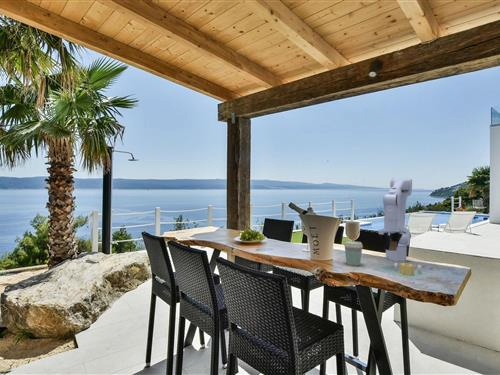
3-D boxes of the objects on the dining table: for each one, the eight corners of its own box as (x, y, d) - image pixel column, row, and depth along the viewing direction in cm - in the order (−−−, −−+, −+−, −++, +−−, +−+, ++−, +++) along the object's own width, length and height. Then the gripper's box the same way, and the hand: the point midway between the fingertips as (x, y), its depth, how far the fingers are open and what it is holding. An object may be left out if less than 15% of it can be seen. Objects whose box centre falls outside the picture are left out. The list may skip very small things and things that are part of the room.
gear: (381, 249, 142) (381, 240, 142) (388, 248, 145) (389, 239, 145) (392, 251, 137) (392, 242, 138) (399, 250, 140) (399, 241, 140)
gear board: (367, 270, 140) (368, 259, 140) (390, 266, 148) (390, 256, 148) (413, 283, 121) (413, 271, 121) (436, 278, 129) (436, 267, 129)
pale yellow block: (399, 274, 129) (399, 264, 129) (400, 271, 134) (400, 262, 134) (413, 276, 126) (413, 266, 126) (414, 273, 131) (414, 264, 131)
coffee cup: (366, 269, 142) (366, 243, 142) (349, 269, 141) (349, 244, 141) (356, 264, 150) (357, 240, 150) (340, 265, 149) (341, 240, 149)
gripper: (388, 221, 134) (387, 251, 134) (408, 220, 141) (408, 249, 141) (374, 219, 140) (374, 249, 140) (395, 218, 147) (394, 246, 147)
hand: (390, 249), depth 141 cm, fingers closed on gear, 5 cm apart
